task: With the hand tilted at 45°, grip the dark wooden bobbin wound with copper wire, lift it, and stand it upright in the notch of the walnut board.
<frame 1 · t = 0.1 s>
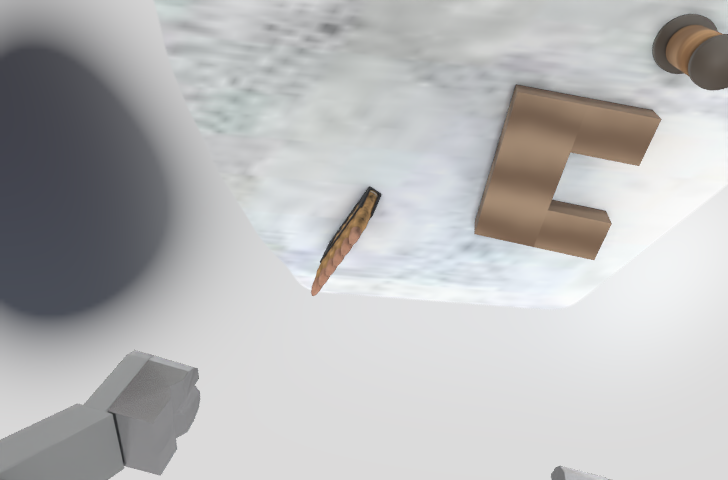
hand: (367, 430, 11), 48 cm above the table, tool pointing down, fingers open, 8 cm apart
bobbin: (683, 43, 47), on the table
notched board: (555, 171, 56), on the table
ammunition clip: (354, 218, 65), on the table
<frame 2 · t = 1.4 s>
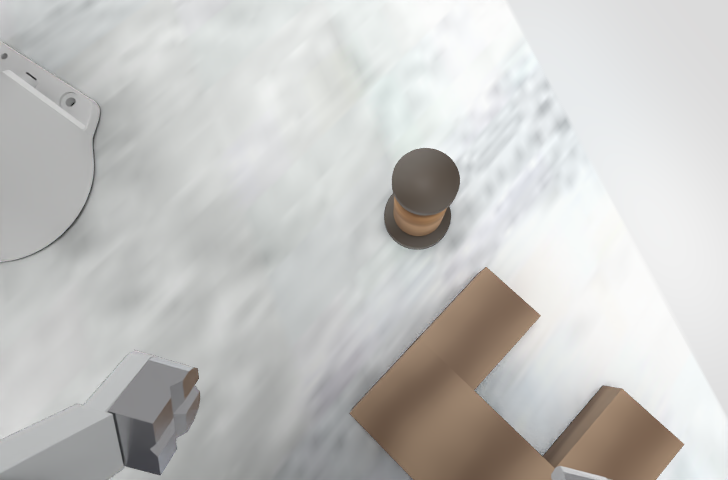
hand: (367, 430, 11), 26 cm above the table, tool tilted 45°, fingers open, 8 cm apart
bobbin: (416, 217, 39), on the table
notched board: (503, 422, 36), on the table
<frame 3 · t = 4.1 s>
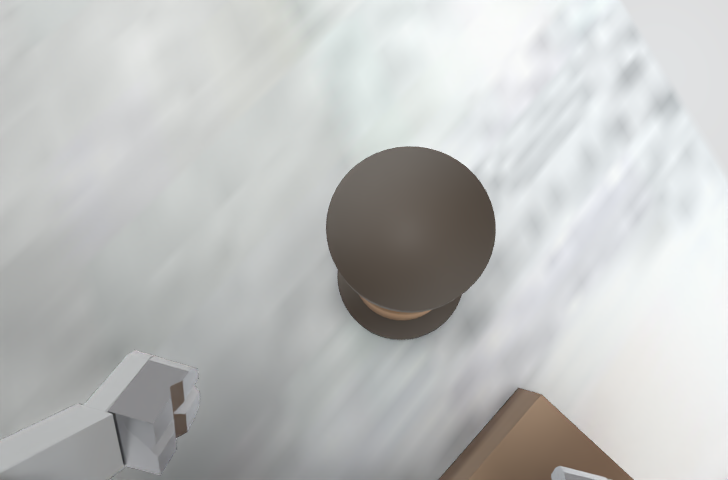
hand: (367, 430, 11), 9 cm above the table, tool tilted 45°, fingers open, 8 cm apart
bobbin: (399, 277, 21), on the table
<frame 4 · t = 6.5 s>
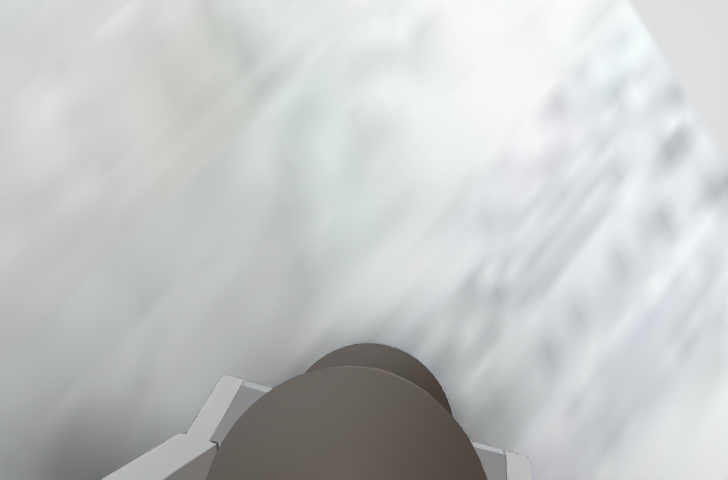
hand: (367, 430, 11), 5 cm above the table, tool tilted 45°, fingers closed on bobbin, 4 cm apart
bobbin: (369, 427, 16), on the table, touching gripper
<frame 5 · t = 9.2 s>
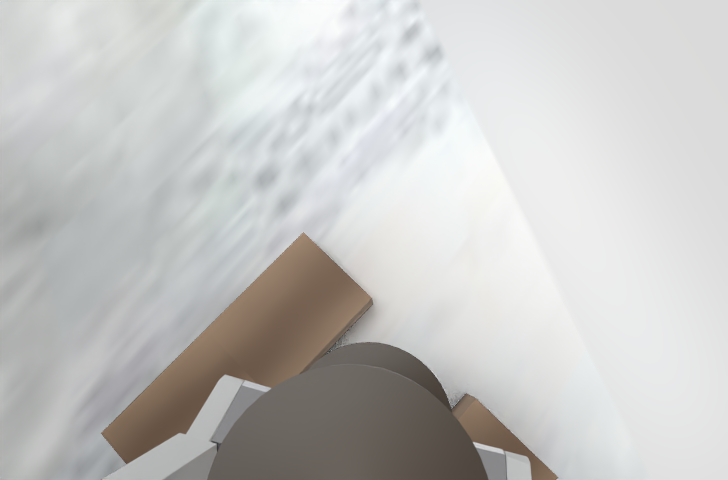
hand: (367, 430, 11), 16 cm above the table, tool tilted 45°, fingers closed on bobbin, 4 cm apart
bobbin: (369, 425, 16), point 11 cm above the table, touching gripper
notched board: (329, 443, 26), on the table
when the fingers open (6 cm above the table, at t = 11.8 s): bobbin stays where it is, on the table.
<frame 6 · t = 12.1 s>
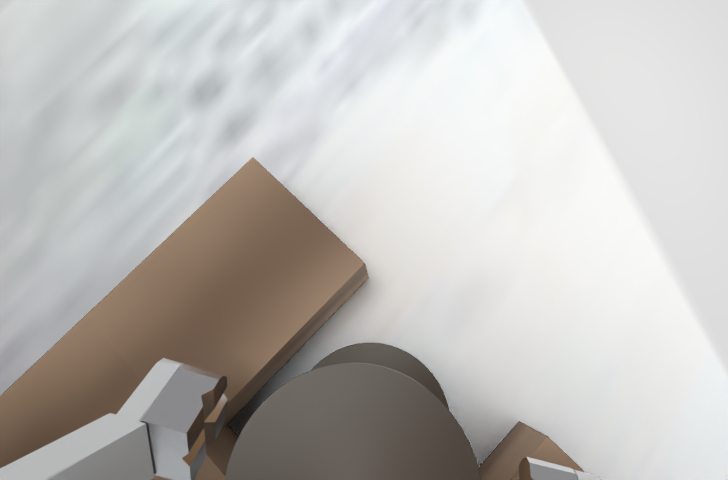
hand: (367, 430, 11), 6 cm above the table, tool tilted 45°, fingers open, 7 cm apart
bobbin: (370, 421, 17), on the table
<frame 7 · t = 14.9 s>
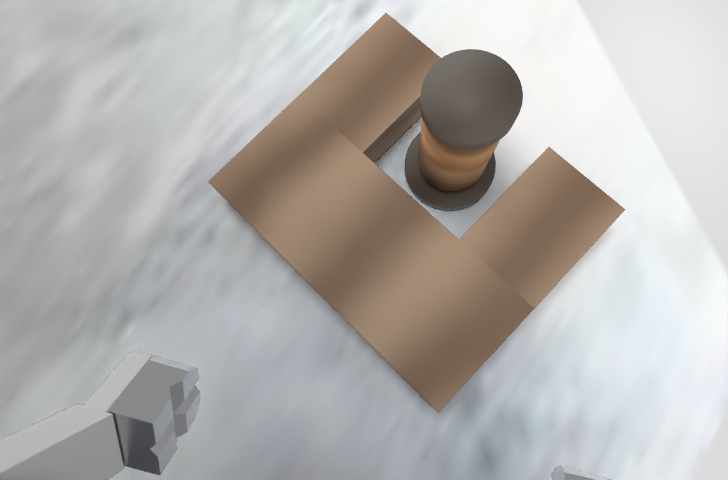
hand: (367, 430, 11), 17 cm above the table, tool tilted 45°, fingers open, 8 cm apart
bobbin: (448, 168, 29), on the table
notched board: (408, 210, 29), on the table
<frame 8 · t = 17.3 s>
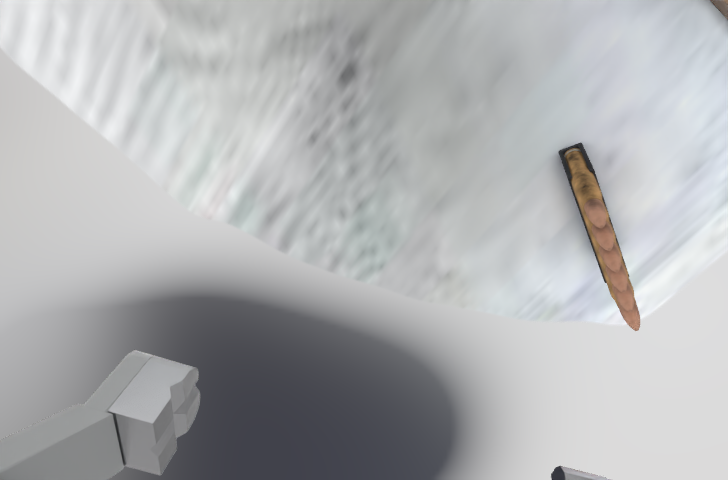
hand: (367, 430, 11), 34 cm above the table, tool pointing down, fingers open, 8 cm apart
ammunition clip: (587, 199, 43), on the table
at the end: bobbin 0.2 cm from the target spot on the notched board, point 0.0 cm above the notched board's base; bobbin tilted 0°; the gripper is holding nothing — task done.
